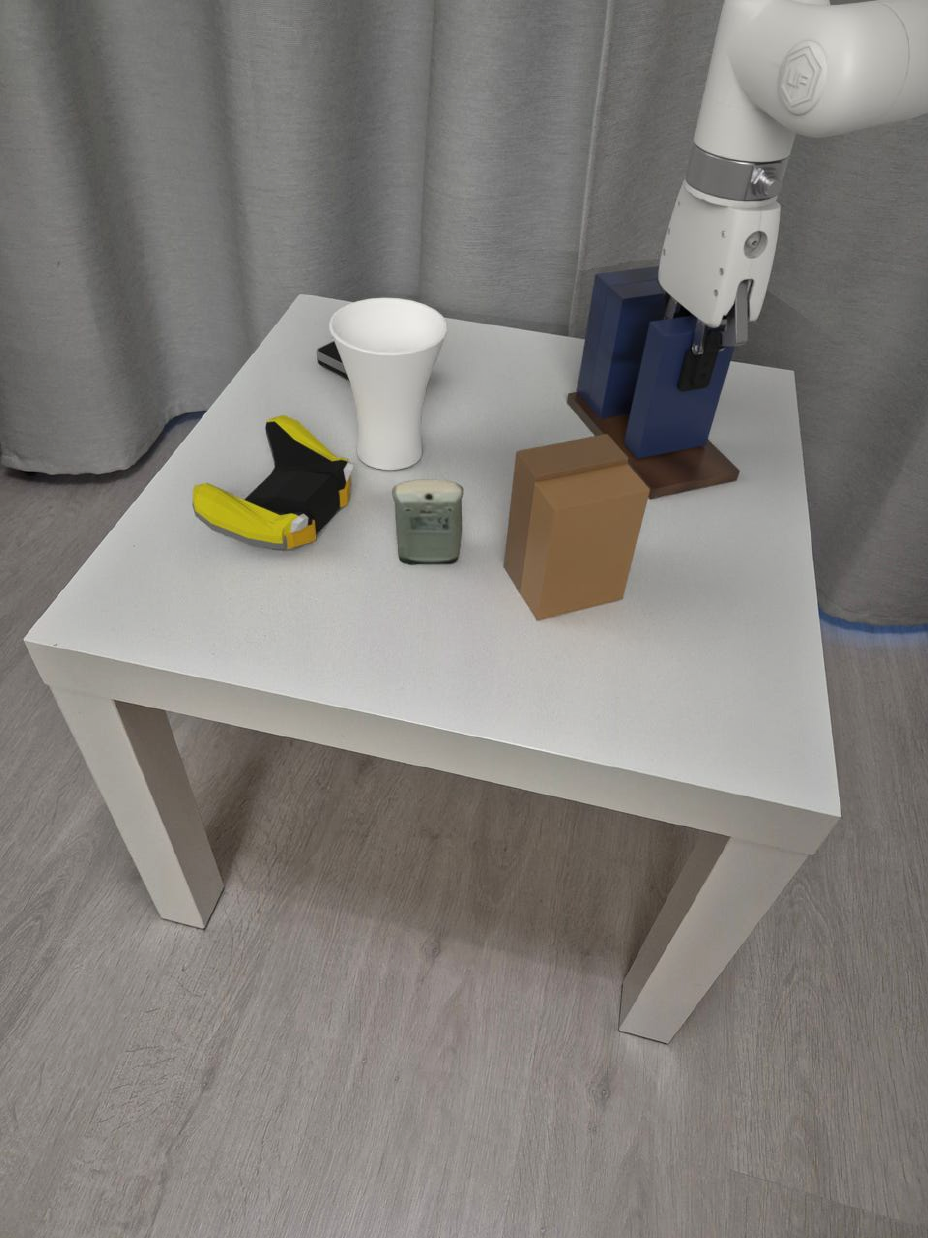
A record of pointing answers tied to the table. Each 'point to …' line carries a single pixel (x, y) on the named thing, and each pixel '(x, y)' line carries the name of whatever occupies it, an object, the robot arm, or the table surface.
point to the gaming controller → (281, 493)
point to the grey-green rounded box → (428, 521)
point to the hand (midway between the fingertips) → (682, 376)
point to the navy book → (672, 393)
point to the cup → (388, 373)
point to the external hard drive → (331, 359)
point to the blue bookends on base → (634, 381)
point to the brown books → (573, 525)
